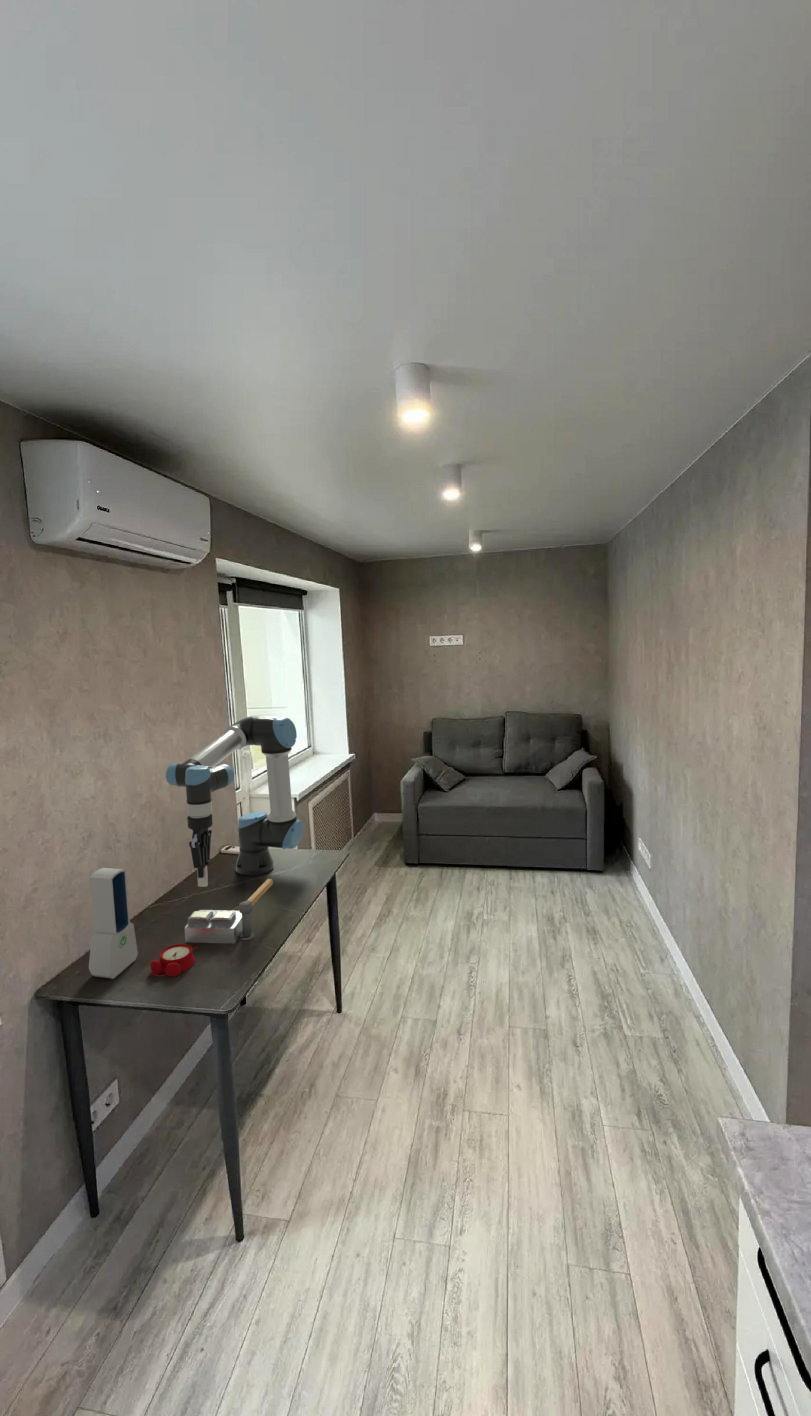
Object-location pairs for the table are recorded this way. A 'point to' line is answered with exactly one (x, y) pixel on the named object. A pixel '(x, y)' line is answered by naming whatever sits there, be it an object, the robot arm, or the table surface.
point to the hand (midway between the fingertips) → (203, 885)
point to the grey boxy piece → (215, 927)
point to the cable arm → (247, 905)
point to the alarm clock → (174, 960)
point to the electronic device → (111, 924)
